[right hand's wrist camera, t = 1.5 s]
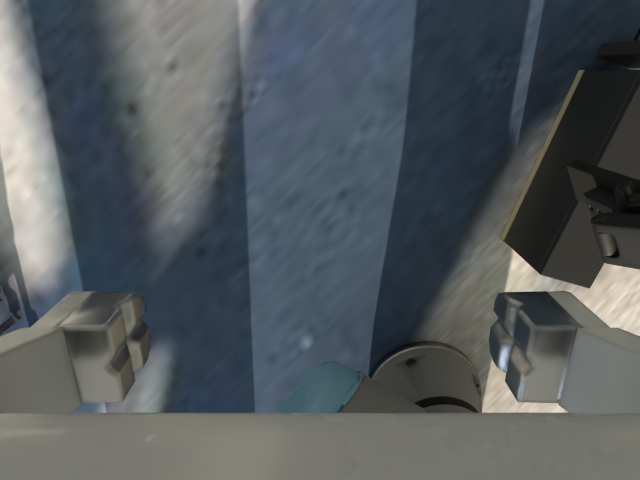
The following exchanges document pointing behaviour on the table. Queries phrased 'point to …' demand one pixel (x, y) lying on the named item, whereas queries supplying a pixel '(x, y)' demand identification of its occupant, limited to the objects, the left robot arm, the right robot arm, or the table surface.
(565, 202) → the dark rectangular case
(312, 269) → the table surface
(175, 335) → the table surface
